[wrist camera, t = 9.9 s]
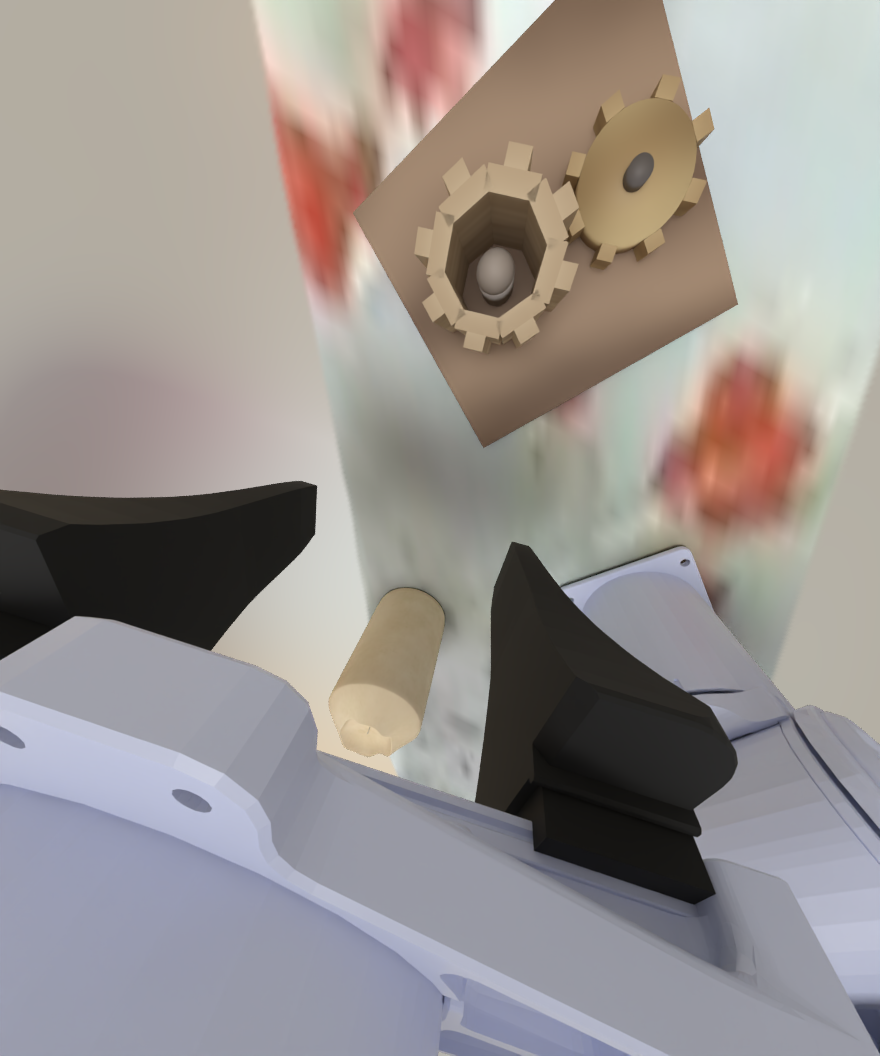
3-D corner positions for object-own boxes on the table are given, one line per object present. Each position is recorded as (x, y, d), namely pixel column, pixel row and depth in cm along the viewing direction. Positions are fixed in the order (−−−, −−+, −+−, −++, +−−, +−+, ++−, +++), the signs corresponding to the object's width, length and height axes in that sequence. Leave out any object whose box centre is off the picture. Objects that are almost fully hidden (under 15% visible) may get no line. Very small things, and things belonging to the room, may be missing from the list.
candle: (400, 574, 24) (341, 693, 16) (459, 613, 25) (434, 749, 16) (367, 615, 27) (300, 737, 18) (421, 650, 28) (382, 784, 19)
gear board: (723, 308, 14) (814, 285, 10) (484, 444, 19) (478, 467, 15) (629, -53, 11) (708, -319, 7) (361, 221, 15) (306, 168, 11)
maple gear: (577, 308, 15) (607, 286, 10) (476, 376, 17) (464, 381, 12) (525, 178, 13) (534, 86, 9) (419, 270, 15) (384, 232, 11)
